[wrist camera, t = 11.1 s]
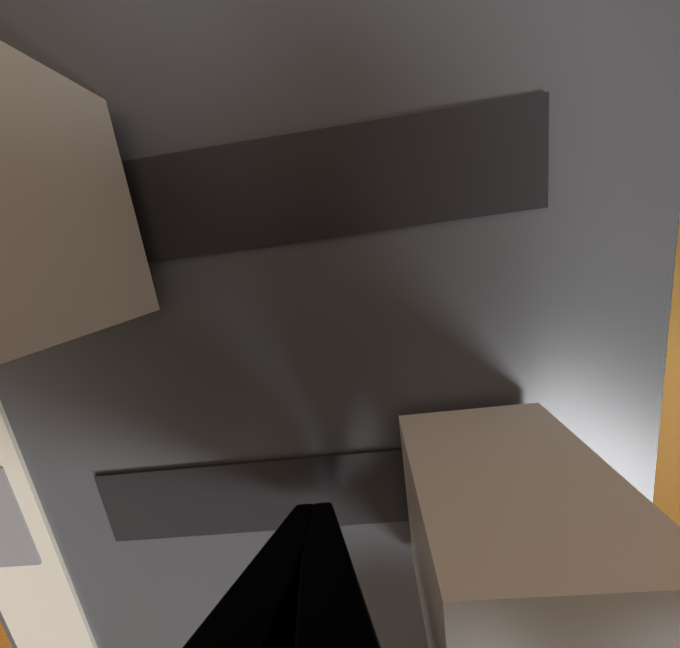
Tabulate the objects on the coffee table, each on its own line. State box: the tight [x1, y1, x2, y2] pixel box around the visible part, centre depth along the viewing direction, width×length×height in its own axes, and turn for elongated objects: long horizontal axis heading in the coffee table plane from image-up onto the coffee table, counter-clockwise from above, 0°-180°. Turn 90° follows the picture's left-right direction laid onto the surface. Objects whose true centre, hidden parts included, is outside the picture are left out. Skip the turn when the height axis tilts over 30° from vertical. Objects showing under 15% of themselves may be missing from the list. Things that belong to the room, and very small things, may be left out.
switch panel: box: [0, 0, 680, 648], centre depth 10 cm, size 18×24×3 cm
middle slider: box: [399, 402, 680, 648], centre depth 6 cm, size 3×4×4 cm
